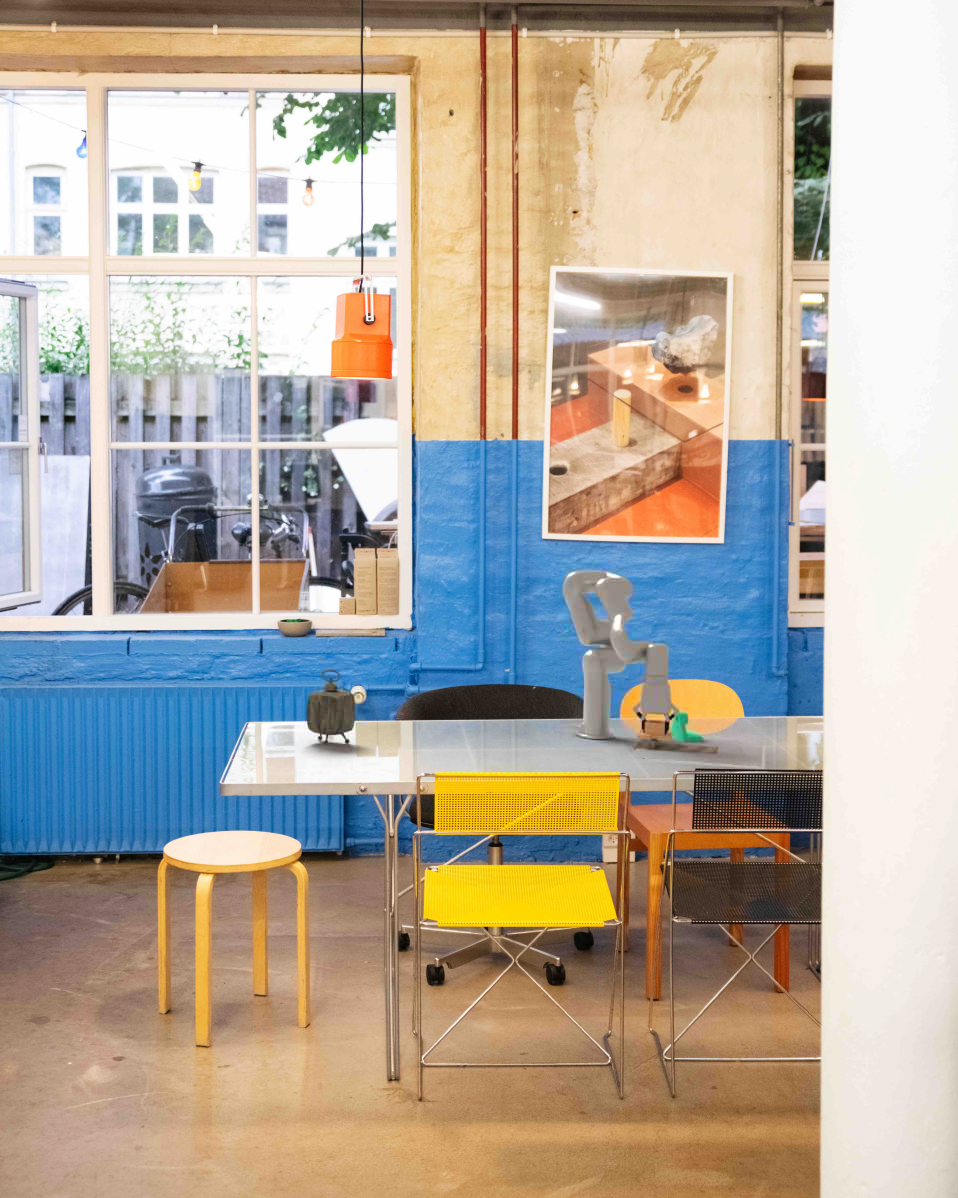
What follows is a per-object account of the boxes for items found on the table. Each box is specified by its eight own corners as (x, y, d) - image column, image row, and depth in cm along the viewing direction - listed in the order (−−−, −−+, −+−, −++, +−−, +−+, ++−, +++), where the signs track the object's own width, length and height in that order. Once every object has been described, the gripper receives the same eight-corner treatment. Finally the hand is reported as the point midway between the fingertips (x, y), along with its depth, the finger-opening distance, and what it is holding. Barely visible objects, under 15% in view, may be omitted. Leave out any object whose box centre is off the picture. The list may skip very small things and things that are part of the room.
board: (634, 750, 385) (634, 739, 384) (638, 744, 396) (638, 732, 396) (716, 756, 378) (716, 744, 378) (717, 750, 390) (718, 738, 390)
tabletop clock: (354, 743, 384) (356, 669, 383) (340, 748, 376) (341, 672, 375) (318, 739, 391) (319, 666, 389) (303, 743, 382) (304, 669, 381)
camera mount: (703, 744, 401) (704, 715, 400) (683, 744, 399) (684, 715, 398) (689, 737, 412) (690, 709, 411) (669, 738, 410) (670, 709, 410)
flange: (672, 735, 393) (673, 720, 392) (670, 740, 382) (670, 725, 382) (640, 733, 395) (641, 718, 395) (637, 738, 385) (637, 723, 384)
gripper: (629, 680, 386) (628, 732, 387) (681, 682, 382) (680, 735, 383) (632, 677, 393) (630, 729, 394) (683, 679, 389) (681, 732, 390)
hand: (655, 732), depth 388 cm, fingers closed on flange, 6 cm apart
